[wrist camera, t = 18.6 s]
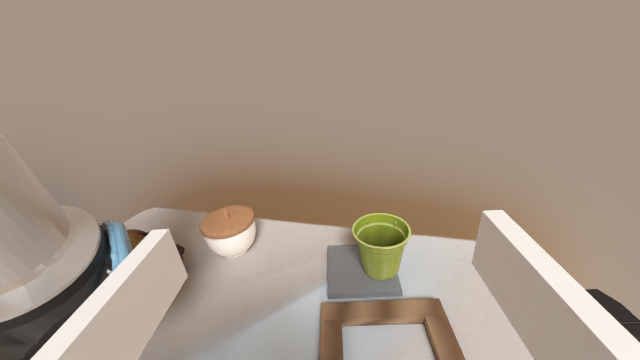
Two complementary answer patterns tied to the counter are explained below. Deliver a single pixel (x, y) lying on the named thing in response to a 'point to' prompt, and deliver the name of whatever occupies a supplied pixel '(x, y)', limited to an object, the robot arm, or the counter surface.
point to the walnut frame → (387, 323)
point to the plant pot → (381, 243)
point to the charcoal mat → (355, 276)
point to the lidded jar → (229, 230)
